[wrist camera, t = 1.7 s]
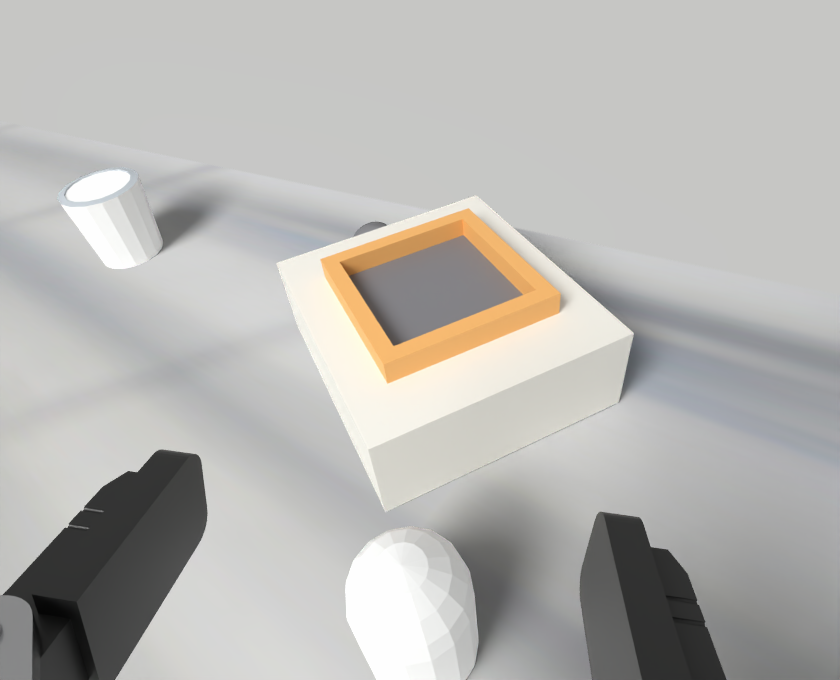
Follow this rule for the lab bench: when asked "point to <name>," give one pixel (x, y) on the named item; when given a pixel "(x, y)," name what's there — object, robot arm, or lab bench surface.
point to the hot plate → (451, 344)
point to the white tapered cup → (113, 216)
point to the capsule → (413, 607)
